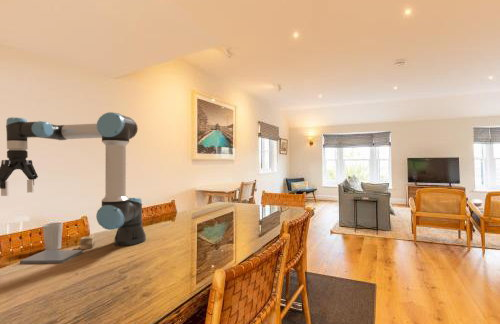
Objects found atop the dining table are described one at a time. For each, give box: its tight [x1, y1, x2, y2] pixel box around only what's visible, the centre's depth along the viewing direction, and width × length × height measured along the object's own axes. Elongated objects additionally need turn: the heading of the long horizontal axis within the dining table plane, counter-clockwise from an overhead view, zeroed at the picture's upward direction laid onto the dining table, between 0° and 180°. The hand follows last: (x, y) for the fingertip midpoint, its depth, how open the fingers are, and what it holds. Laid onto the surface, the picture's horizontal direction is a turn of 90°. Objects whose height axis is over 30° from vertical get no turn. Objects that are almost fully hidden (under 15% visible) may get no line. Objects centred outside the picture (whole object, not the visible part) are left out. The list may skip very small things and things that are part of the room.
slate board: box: [19, 249, 84, 264], centre depth 117 cm, size 18×13×1 cm
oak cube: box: [79, 235, 96, 250], centre depth 131 cm, size 5×5×5 cm
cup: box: [42, 222, 64, 251], centre depth 129 cm, size 8×8×12 cm
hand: (18, 194), depth 128 cm, fingers open, 13 cm apart
